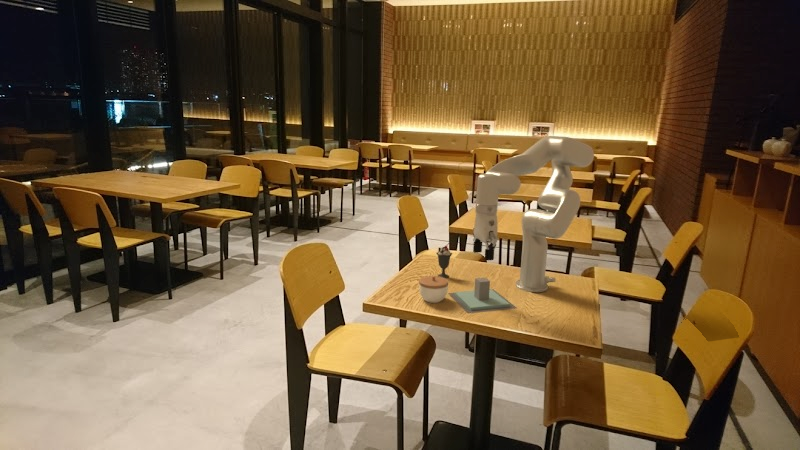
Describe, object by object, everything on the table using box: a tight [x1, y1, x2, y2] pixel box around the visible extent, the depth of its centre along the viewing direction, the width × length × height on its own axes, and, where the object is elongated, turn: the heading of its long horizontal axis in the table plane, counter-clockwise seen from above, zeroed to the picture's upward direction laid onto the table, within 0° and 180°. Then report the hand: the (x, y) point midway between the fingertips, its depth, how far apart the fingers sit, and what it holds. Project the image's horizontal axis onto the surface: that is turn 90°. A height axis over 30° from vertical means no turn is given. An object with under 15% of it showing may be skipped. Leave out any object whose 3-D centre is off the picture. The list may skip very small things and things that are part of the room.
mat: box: [447, 288, 518, 314], centre depth 175 cm, size 19×19×1 cm
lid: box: [454, 277, 510, 310], centre depth 174 cm, size 15×15×8 cm
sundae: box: [436, 242, 453, 279], centre depth 199 cm, size 7×7×15 cm
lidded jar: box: [418, 275, 449, 304], centre depth 174 cm, size 11×11×9 cm
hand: (483, 256), depth 170 cm, fingers open, 9 cm apart
